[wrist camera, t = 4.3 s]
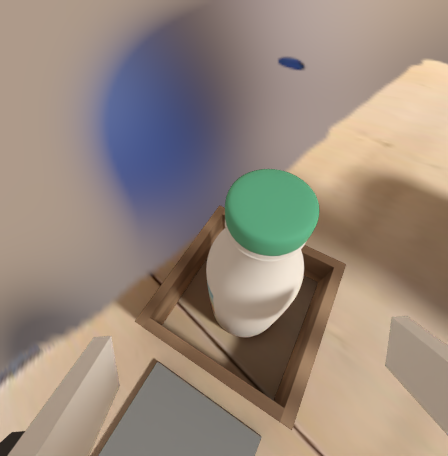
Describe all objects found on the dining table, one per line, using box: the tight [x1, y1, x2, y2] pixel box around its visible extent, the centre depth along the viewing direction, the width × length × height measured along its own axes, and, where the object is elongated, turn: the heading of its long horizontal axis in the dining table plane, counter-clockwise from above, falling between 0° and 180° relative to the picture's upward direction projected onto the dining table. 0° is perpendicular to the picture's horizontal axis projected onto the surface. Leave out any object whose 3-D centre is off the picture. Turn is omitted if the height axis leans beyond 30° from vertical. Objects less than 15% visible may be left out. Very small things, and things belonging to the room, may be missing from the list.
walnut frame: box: [135, 206, 346, 430], centre depth 26 cm, size 16×16×5 cm
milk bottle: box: [206, 169, 319, 337], centre depth 20 cm, size 8×8×20 cm
